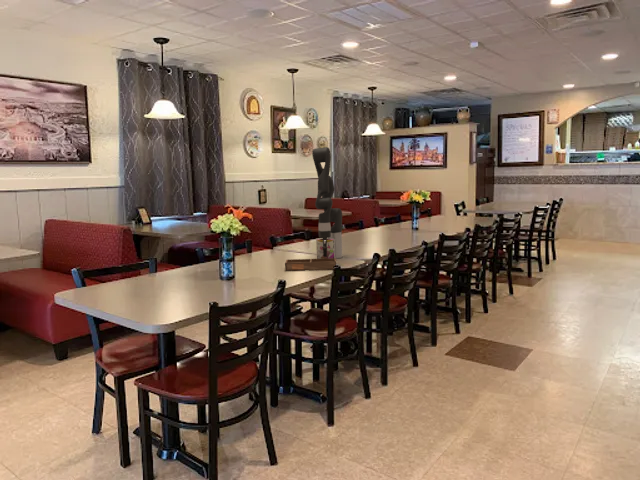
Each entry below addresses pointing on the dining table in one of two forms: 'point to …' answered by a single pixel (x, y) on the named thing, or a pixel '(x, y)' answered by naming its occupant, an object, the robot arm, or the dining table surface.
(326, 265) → the organiser rack
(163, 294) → the dining table surface
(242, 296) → the dining table surface
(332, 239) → the candy bar box
